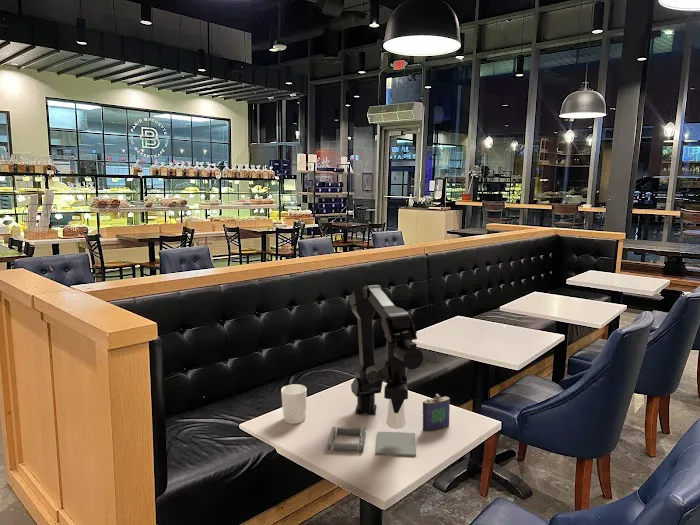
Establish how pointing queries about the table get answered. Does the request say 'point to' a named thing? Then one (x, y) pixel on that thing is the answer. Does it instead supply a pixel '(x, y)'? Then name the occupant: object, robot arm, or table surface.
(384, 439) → the mat
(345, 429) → the holder
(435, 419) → the flask
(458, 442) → the table surface
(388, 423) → the pepper shaker
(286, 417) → the white cup
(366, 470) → the table surface
